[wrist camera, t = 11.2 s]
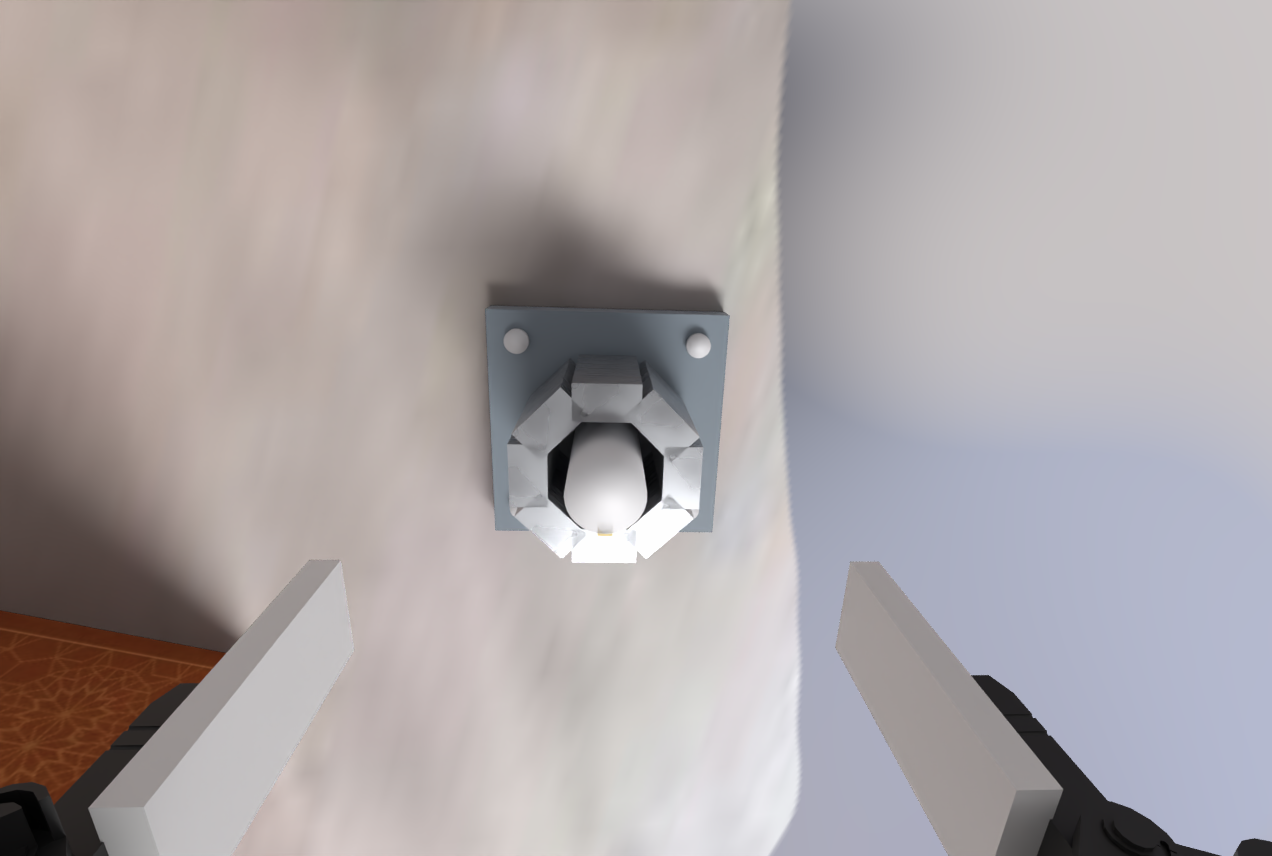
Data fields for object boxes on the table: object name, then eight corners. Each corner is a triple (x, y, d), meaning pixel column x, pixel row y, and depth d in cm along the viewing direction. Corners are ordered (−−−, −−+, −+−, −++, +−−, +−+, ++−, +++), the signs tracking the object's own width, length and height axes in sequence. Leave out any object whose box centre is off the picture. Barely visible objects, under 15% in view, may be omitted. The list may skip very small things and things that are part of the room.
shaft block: (491, 305, 30) (435, 336, 20) (723, 311, 30) (776, 345, 21) (500, 517, 34) (457, 628, 24) (707, 519, 34) (745, 628, 25)
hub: (525, 353, 29) (504, 381, 23) (688, 356, 29) (707, 386, 23) (529, 502, 31) (511, 561, 25) (679, 503, 31) (694, 562, 26)
